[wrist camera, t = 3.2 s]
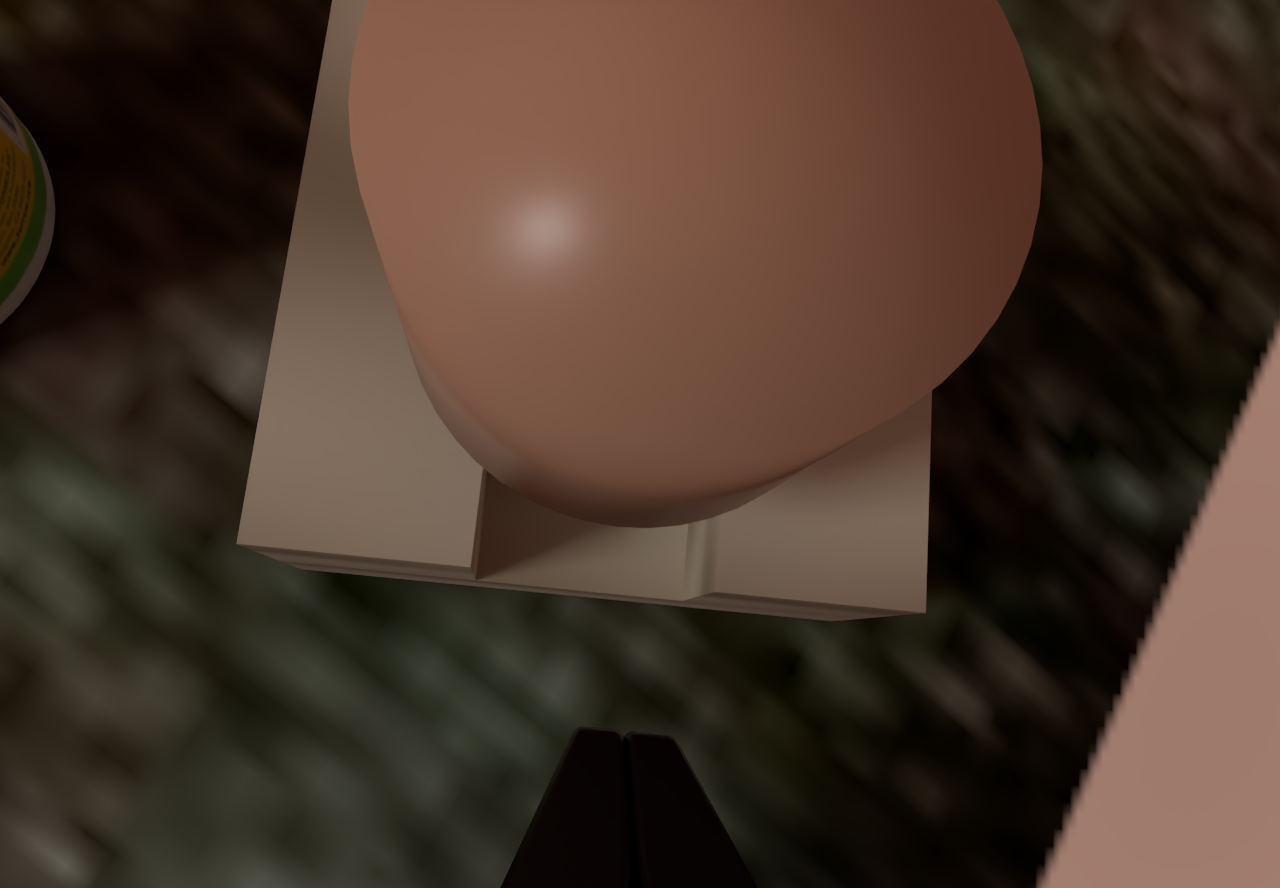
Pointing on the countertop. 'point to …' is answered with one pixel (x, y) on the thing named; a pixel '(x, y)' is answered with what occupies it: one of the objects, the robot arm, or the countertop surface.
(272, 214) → the countertop surface
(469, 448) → the knob
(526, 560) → the knob track
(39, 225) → the supplement bottle
